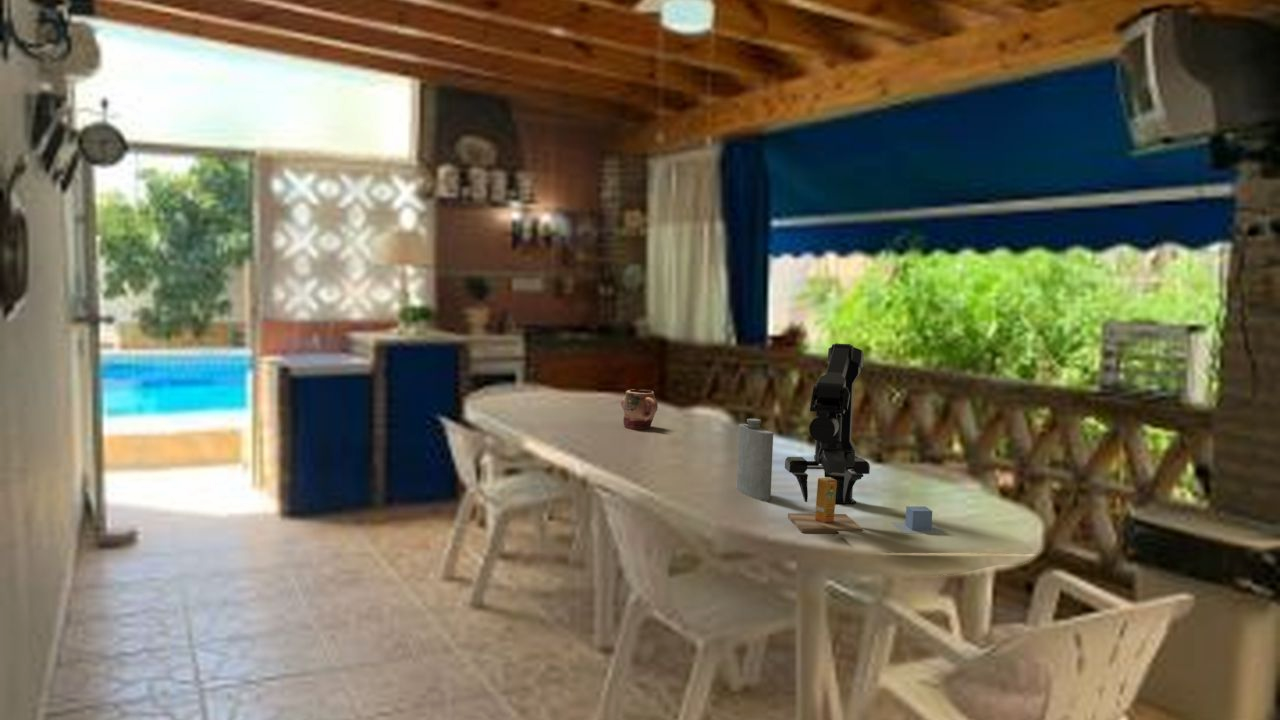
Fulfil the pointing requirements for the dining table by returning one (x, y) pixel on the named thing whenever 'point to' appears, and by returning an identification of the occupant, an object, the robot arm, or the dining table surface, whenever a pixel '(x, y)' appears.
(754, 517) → the dining table surface
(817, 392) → the robot arm
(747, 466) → the hip flask
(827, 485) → the supplement box
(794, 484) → the dining table surface
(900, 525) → the grey mat
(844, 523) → the walnut board
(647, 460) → the dining table surface
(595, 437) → the dining table surface
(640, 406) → the pink rounded hollow vessel
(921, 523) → the slate blue block
